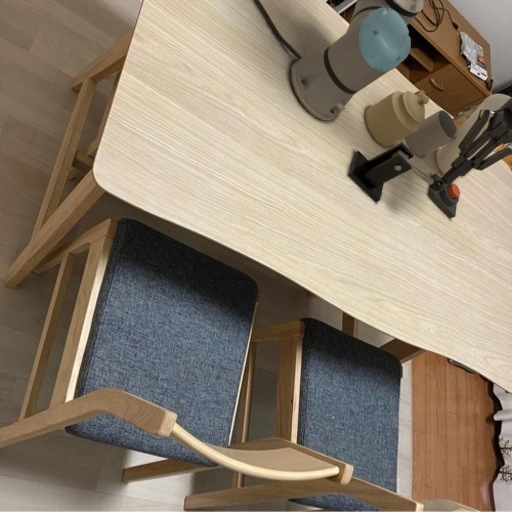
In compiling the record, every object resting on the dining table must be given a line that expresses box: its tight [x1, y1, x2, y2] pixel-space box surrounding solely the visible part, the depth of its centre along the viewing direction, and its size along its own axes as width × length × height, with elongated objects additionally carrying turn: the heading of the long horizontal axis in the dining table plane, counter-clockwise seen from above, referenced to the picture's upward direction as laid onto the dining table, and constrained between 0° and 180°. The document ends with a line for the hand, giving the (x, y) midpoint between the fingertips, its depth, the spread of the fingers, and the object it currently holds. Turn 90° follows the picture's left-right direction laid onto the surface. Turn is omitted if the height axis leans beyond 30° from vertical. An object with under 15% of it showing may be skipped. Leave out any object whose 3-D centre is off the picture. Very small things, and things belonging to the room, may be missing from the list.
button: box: [447, 183, 461, 199], centre depth 152 cm, size 4×4×2 cm
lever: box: [392, 150, 444, 192], centre depth 128 cm, size 14×3×3 cm, turn 68°
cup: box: [406, 109, 457, 157], centre depth 152 cm, size 8×8×10 cm
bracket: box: [347, 141, 415, 203], centre depth 130 cm, size 10×8×12 cm
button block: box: [427, 172, 460, 219], centre depth 153 cm, size 10×8×4 cm
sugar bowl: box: [365, 89, 431, 147], centre depth 141 cm, size 15×11×15 cm
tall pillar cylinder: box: [435, 93, 512, 180], centre depth 149 cm, size 11×11×25 cm
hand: (445, 181), depth 129 cm, fingers closed
